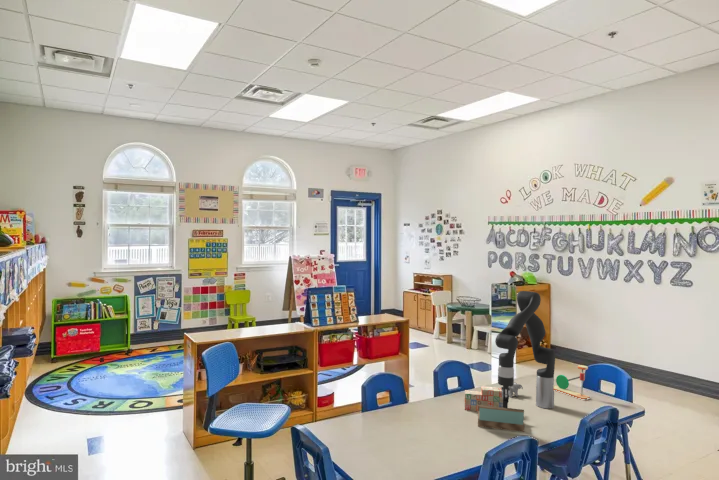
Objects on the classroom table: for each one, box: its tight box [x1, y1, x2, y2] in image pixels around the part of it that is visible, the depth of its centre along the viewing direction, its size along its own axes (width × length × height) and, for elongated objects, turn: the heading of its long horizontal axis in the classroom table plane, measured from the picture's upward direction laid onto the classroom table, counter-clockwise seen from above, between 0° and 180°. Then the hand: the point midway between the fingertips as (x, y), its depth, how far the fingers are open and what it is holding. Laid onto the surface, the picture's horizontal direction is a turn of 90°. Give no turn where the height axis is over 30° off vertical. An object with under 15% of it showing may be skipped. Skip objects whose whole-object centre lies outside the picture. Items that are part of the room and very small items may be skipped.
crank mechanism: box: [554, 364, 591, 400], centre depth 289 cm, size 25×7×19 cm, turn 31°
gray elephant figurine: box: [508, 381, 524, 398], centre depth 284 cm, size 9×12×8 cm
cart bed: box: [477, 406, 525, 433], centre depth 238 cm, size 22×12×6 cm, turn 76°
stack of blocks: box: [464, 385, 503, 412], centre depth 258 cm, size 21×6×12 cm, turn 78°
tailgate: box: [479, 405, 525, 425], centre depth 230 cm, size 21×1×8 cm, turn 76°
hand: (505, 409), depth 231 cm, fingers closed
